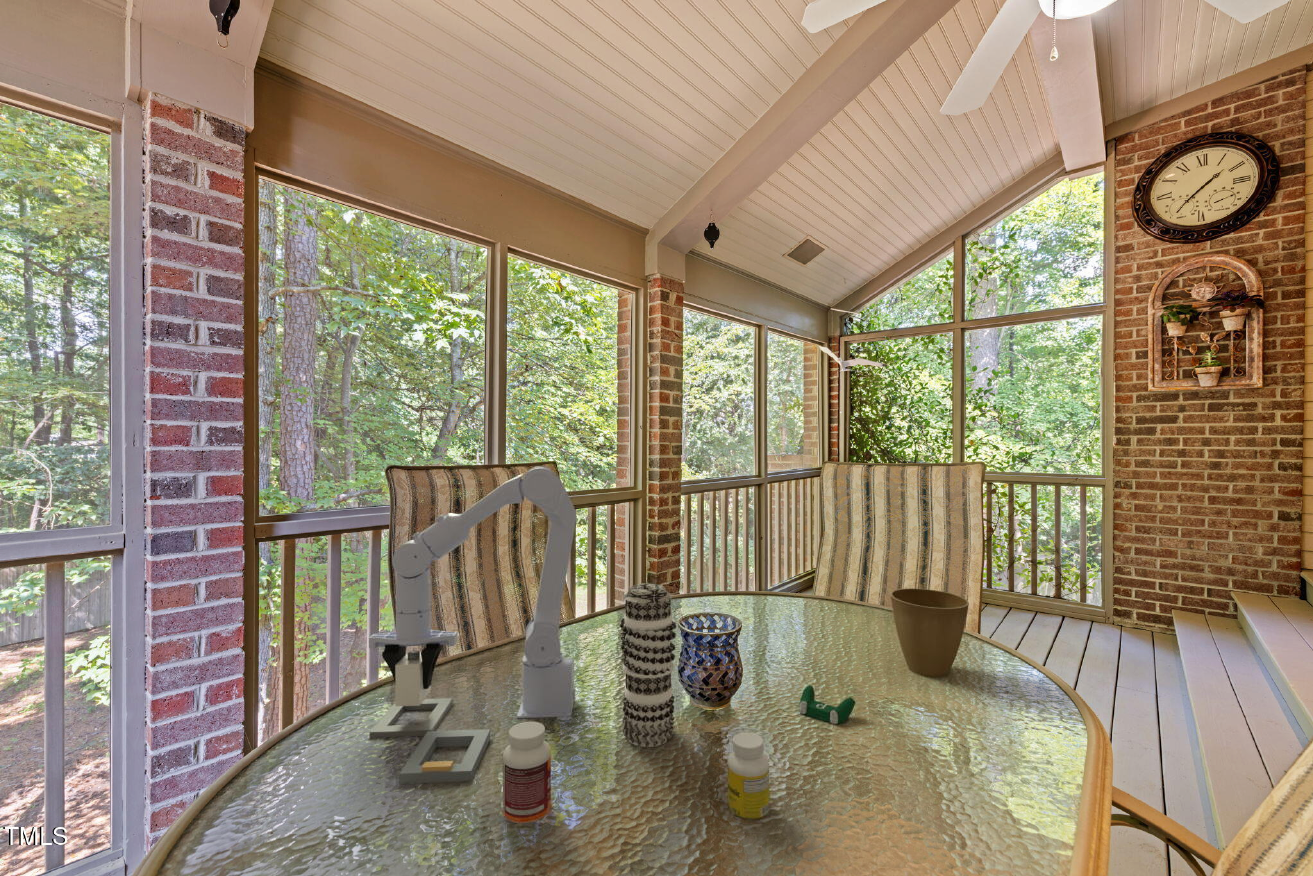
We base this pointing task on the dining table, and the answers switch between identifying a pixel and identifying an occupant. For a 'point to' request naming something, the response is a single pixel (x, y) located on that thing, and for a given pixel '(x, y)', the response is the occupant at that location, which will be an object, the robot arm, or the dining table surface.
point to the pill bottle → (526, 774)
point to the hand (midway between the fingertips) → (413, 687)
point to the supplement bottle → (748, 777)
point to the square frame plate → (387, 730)
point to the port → (445, 770)
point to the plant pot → (929, 628)
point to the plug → (410, 680)
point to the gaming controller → (824, 708)
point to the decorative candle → (648, 665)
